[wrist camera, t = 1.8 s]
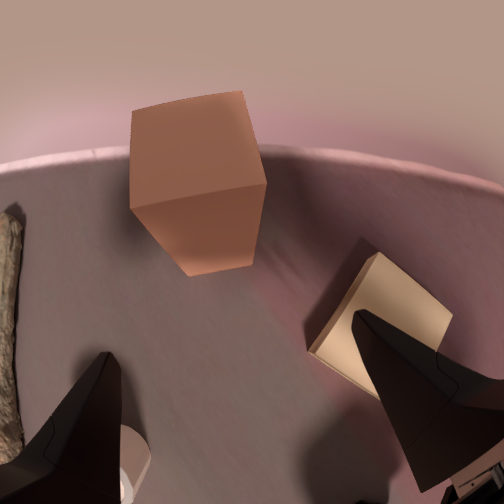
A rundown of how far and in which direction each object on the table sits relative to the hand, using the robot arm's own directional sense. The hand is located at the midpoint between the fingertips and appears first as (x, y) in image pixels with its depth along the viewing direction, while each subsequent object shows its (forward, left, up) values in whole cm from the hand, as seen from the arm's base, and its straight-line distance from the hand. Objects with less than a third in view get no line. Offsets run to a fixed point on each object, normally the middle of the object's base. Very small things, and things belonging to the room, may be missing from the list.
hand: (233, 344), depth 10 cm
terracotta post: (+5, +7, -14) cm, 16 cm away
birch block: (+7, -10, -14) cm, 19 cm away
